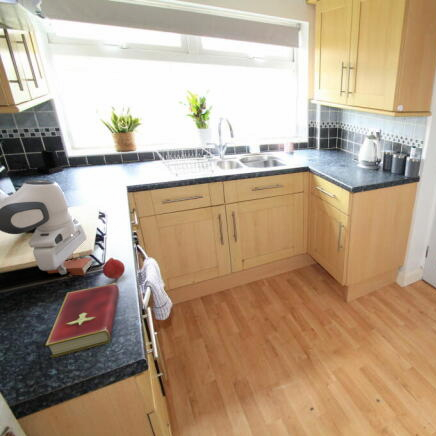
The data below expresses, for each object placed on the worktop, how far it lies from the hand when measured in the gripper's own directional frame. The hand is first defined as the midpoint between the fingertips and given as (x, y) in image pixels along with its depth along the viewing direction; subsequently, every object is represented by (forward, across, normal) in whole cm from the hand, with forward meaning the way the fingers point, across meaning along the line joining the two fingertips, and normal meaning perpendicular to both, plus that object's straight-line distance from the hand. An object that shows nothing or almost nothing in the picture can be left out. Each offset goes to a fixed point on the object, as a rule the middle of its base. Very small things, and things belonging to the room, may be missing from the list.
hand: (70, 266), depth 105 cm
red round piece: (+2, +6, +16) cm, 17 cm away
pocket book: (+2, 0, 0) cm, 2 cm away
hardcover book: (+2, +26, +17) cm, 31 cm away
